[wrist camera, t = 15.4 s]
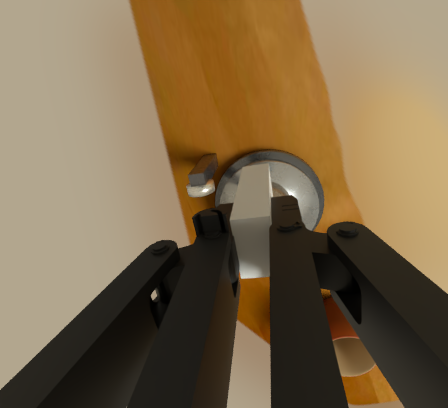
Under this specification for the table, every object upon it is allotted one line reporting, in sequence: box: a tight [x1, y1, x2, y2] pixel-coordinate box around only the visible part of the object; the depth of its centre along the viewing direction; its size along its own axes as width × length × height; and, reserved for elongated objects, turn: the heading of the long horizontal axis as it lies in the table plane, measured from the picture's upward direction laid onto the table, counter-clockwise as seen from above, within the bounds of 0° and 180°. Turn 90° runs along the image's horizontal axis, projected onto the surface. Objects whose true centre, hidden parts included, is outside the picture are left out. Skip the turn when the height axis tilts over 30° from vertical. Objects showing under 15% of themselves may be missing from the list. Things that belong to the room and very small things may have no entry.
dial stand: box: [187, 154, 218, 197], centre depth 42 cm, size 3×4×11 cm
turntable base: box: [215, 149, 324, 231], centre depth 47 cm, size 17×17×2 cm
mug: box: [323, 297, 376, 377], centre depth 51 cm, size 12×9×10 cm
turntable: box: [220, 159, 319, 231], centre depth 45 cm, size 20×15×4 cm
